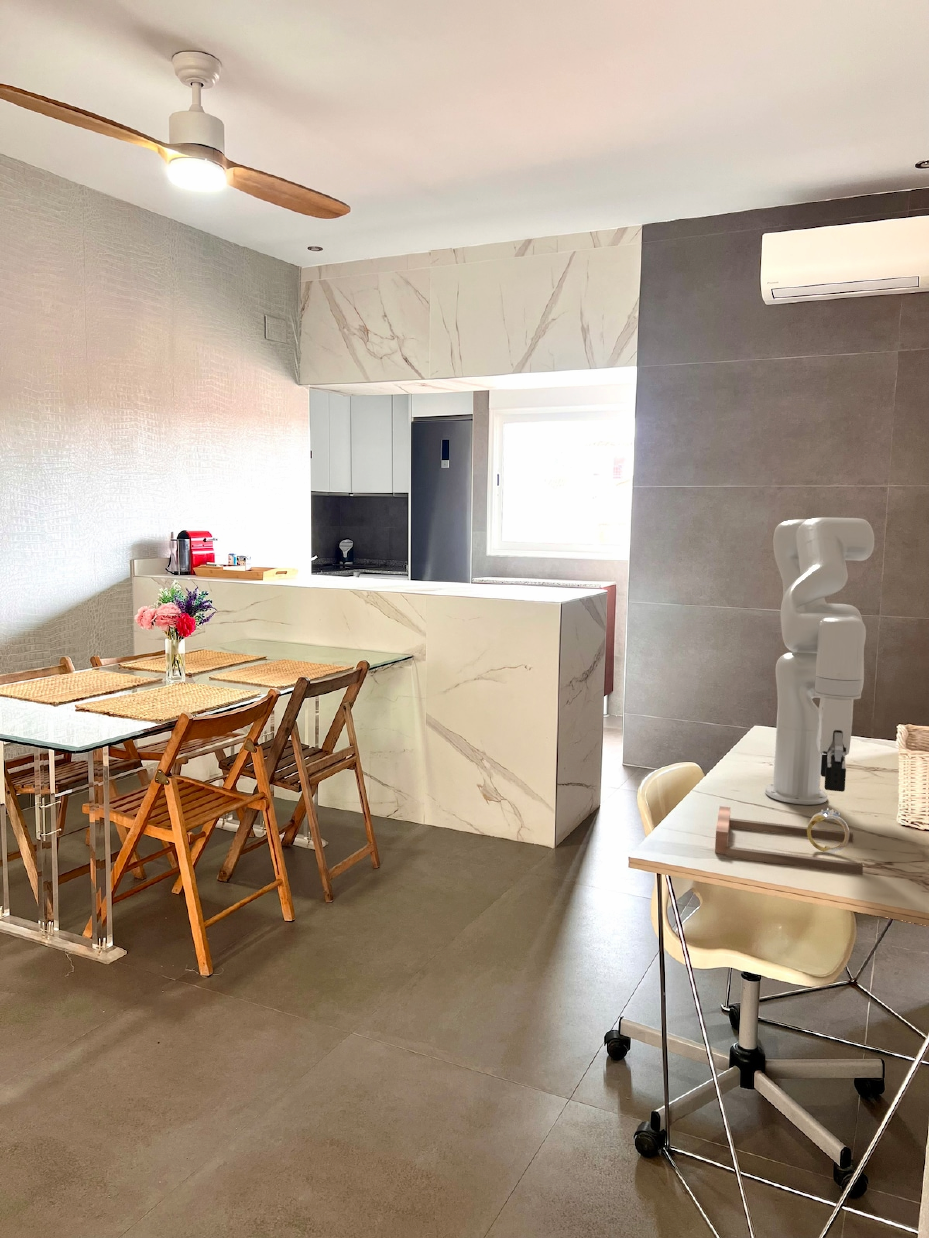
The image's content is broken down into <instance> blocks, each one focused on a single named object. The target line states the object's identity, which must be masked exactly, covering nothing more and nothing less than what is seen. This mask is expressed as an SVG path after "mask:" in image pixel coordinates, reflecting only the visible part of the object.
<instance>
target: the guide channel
mask: <svg viewBox="0 0 929 1238" xmlns="http://www.w3.org/2000/svg"><path fill="white" fill-rule="evenodd" d="M716 822H717V823H716V828H715V845H714V846H715V847H714V853H715V854H723V855H726V857H728V858H733V859H742V860H751V861H755V862H756V861H757V862H765V863H771V862H773V864H779V865H780V864H781V865H786V866H787V865H788V866H797V867H801V868H811V869H818V870H825V871H832V872H841V873H842V872H843V873H849V874H855V875H856V874H857V875H863V872H864V864H863V863H862V862H855V861H846V860H839V859H831V858H824V857H823V858H821V857H815V856H808V855H799V854H792V853H784V852H783V853H782V852H776V851H768V850H761V849H754V848H745V847H738V846H730V845H728V843H729V835H730V834H729V833H730V828H731V829H739V830H747V831H756V832H764V833H772V834H780V835H786V836H787V835H789V836H795V837H796V836H797V837H804V838H808V836H807V827H808V826H806V827H805V826H800V825H791V824H790V825H789V824H783V823H773V822H765V821H760V820H759V821H757V820H750V819H740V818H732V817H731V807H729V806H721V805H720V806H719V809H718V816H717V821H716ZM811 835H812V837H813V839H814V838H815V839H822V840H828V841H829V840H830V841H837V842H843V841H844V838H845V831H844V830H843V831H842V830H841V831H840V830H835V829H834V830H832V829H824V828H817V827H812V829H811ZM847 843H854V832H850V831H849V840H848V842H847Z"/></svg>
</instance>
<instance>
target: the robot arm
mask: <svg viewBox="0 0 929 1238" xmlns="http://www.w3.org/2000/svg"><path fill="white" fill-rule="evenodd" d="M773 533H774V534H773V536H772V537H773V539H772V540H773V545H772V546H773V554H774V559H775V563H776V565H777V566H776V567H777V569H778V571H779V574H780V577H781V581H782V590H783V591H782V601H781V605H780V626H781V636H782V641H783V643H784V646H785V647H786V648H787V649H788V650H789V651H790V652H786V653H784V654H783V655H781V656H780V657H779V658H778V659H777V660H776V664H775V681H776V682H775V683H776V693H777V695H776V696H777V715H776V729H775V747H774V749H775V750H774V762H773V764H774V766H773V777H772V778H773V781H772V783H770V784H768V785H766V786H765V788H764V789H765V791H764V792H765V794H766V796H768V797H769V798H772V799H773V800H777V801H780V802H783V803H787V804H788V803H789V804H794V805H804V806H805V805H807V806H808V805H811V806H812V805H821V804H824V803H825V802H826V801H828V793H826V792H825V790H826V791H832V792H842V793H843V792H845V790H846V775H847V768H846V756H847V755H849V754H850V748H851V740H852V730H853V715H854V700H860V699H861V698H862V691H863V690H864V689H863V688H864V684H865V683H864V681H865V659H864V658H865V655H864V653H865V644H866V640H867V628H866V625H865V624H864V622H863V618H862V614H861V612H860V609H858V608H857V607H856V606H854V605H852V604H848V603H847V604H845V603H828V602H827V601H826V597H828V596H832V595H834V594H835V593H838V592H839V591H841V590H842V589H843V588H844V587H845V586H846V584H847V582H848V578H849V574H848V568H847V563H846V561H859V562H862V561H866V560H867V559H869V558H870V557H871V555H872V554H873V551H874V548H875V533H874V530H873V527H872V525H871V524H870V522H868V520H866V519H864V518H859V517H858V518H857V517H827V516H826V517H814V518H810V519H805V518H804V519H803V518H802V519H801V518H798V519H790V520H786V521H783V522H781V523H779V524H778V525H777V526H776V527H775V529H774V532H773ZM815 698H819V706H817V705H816V703H815V702H814V701H813V699H815ZM821 777H823V778H824V790H823V789H821Z"/></svg>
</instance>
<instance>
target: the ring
mask: <svg viewBox="0 0 929 1238" xmlns="http://www.w3.org/2000/svg"><path fill="white" fill-rule="evenodd" d="M837 813H838V814H837ZM841 814H842V813H841V812H838V810H834V809H833V808H832V809H830V807H827V808H826V810H824V809H823V808H822V809H820V812H817V813H815V814H814V815H813V816H812V817H811V818H810V820H809V821H808V825H807V826H806V827H807V836H808V837H807V838H808V841H809V842H810V844H811V845H812V846H813V847H814V848H815V849H816V850H818V851H821V852H823V853H825V854H826V855H827V854H830V853H831V854H832V853H837V852H839V851H841V850H843V849H844V848H845V847H846V846H847V844H848V843H849V842H848V840H849V832H850V829H849V826H848V824H847V822H846V820H844V819H843V818H842V817H840V816H841ZM826 819H827V820H832V819H833V820H835V821H836V822H838V823H839V824H840V825H841V826H842V828H843V832H845V838H844V841H841V843H840V844H839V845H837V846H835V847H829V846H827V845H826V846H822V845H820V844H818V843H817V842H816V841H815V839H814V838H813V837H812V835H811V829H812V828H814V826H815V825H816V824H817V823H819V822H821V821H825V820H826Z"/></svg>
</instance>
